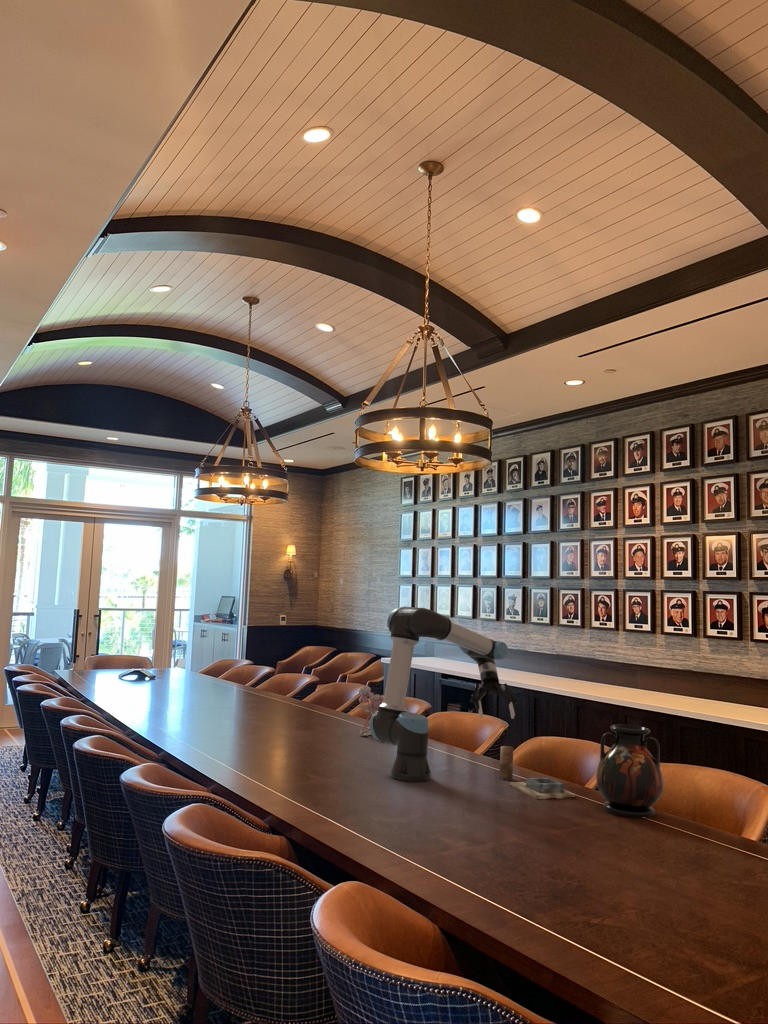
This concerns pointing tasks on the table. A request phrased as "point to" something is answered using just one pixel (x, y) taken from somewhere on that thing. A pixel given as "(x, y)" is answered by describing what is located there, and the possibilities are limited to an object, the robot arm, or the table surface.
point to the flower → (375, 702)
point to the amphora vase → (629, 773)
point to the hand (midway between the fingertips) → (497, 716)
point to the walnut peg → (506, 762)
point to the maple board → (542, 788)
